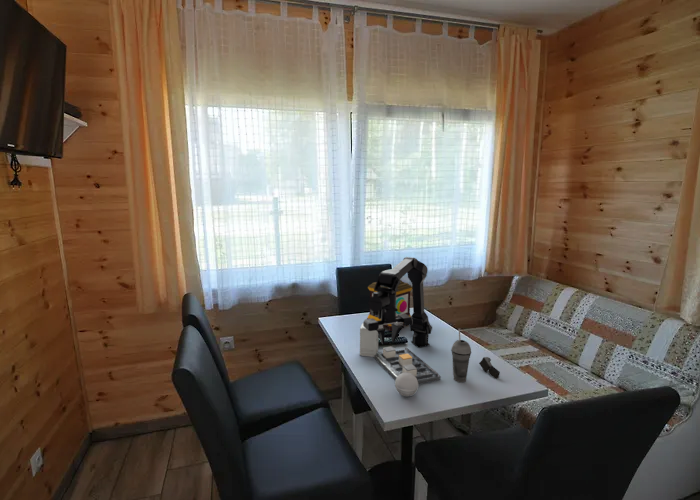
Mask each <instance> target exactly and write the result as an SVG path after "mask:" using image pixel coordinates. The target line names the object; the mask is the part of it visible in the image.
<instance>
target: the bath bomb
mask: <svg viewBox="0 0 700 500" xmlns="http://www.w3.org/2000/svg"><path fill="white" fill-rule="evenodd" d="M394 384H395V385H394V387H395V389H396V391H397V393H398V394H399V395H401V396H403V397H405V398H406V397H407V398H408V397H409V398H410V397H411V396H414V395H415V394H416V393H417V391H418V389H419V384H418V381H417V379H416V377H415V376H414V375H413V374H411V373H408V372H404V373H401V374H400V375H398V377H397V378H396V380H395V382H394Z"/></svg>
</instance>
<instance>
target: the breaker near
mask: <svg viewBox="0 0 700 500" xmlns="http://www.w3.org/2000/svg"><path fill="white" fill-rule="evenodd" d="M404 372H408V373H411V374H413V375H414V376H417V368H416V367H415V366H414V365H412V364H410V365H404V366H403V372H402V373H404Z"/></svg>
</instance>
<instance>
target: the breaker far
mask: <svg viewBox="0 0 700 500" xmlns="http://www.w3.org/2000/svg"><path fill="white" fill-rule="evenodd" d="M396 351H397V350H396V348H394V346H386V347H383V348H382V353H383V356H384V357H385V358H391V357H395V353H396Z"/></svg>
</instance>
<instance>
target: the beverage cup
mask: <svg viewBox="0 0 700 500" xmlns="http://www.w3.org/2000/svg"><path fill="white" fill-rule="evenodd" d="M460 329H461V328H458V340H456V341H454V342H453V344H452V346H451V349H450V351H451V356H452V359H451V360H452V375H453V380H454V381H455V382H457V383H466V380H467V376H468V370H469V364H470V358H471V355H472V347H471V346H470V344H469V343H468V342H467V340H463V339H461V330H460Z"/></svg>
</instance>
